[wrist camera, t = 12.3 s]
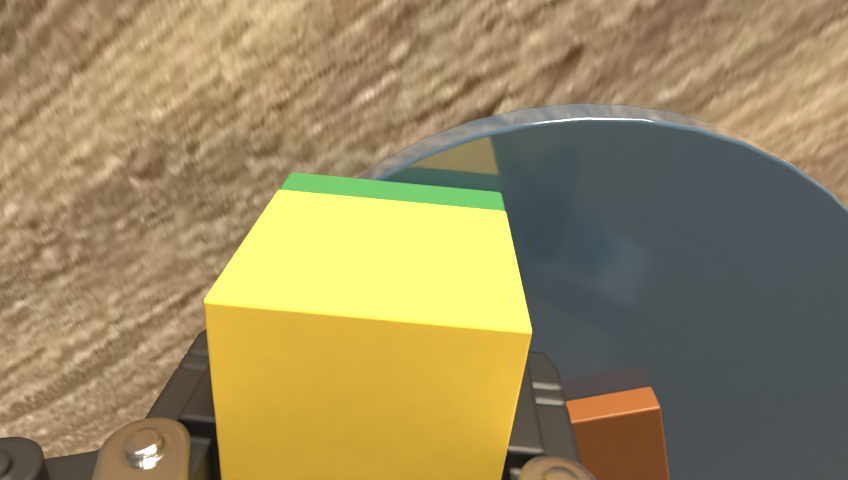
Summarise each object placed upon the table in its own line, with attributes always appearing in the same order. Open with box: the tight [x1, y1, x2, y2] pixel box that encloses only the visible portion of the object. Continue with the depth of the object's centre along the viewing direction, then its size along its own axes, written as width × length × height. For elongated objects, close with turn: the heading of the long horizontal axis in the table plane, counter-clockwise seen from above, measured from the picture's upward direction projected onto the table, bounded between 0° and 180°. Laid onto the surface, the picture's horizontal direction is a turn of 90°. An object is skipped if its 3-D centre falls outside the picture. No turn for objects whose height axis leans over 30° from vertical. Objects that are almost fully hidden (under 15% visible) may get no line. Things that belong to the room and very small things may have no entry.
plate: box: [358, 104, 848, 480], centre depth 16 cm, size 17×17×1 cm
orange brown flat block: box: [566, 387, 669, 480], centre depth 15 cm, size 3×3×1 cm
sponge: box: [204, 173, 532, 480], centre depth 12 cm, size 4×7×5 cm, turn 175°
